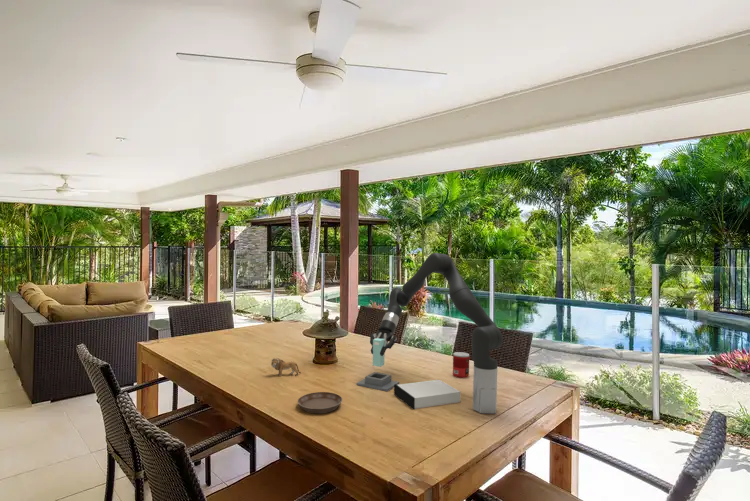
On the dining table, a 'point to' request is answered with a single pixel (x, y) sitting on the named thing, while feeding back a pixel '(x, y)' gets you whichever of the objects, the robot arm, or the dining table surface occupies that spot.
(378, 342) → the plug
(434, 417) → the dining table surface
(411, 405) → the disc drive
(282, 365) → the lion figurine
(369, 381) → the port block
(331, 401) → the plant saucer
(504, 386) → the dining table surface
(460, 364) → the canned food
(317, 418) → the dining table surface
